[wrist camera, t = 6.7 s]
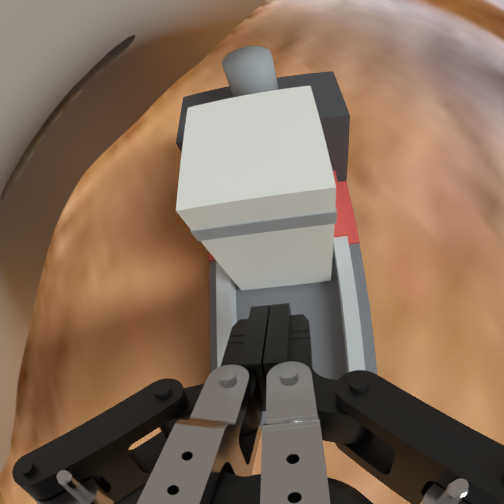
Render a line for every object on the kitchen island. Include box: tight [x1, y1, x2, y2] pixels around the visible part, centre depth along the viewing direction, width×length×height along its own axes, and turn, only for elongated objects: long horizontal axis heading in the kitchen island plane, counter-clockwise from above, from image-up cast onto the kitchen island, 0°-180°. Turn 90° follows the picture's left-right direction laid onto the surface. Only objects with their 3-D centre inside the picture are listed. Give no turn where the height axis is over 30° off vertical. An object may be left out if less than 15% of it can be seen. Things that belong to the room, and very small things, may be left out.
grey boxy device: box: [176, 46, 377, 429], centre depth 15 cm, size 18×9×10 cm, turn 3°
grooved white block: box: [176, 86, 337, 291], centre depth 15 cm, size 5×5×9 cm
